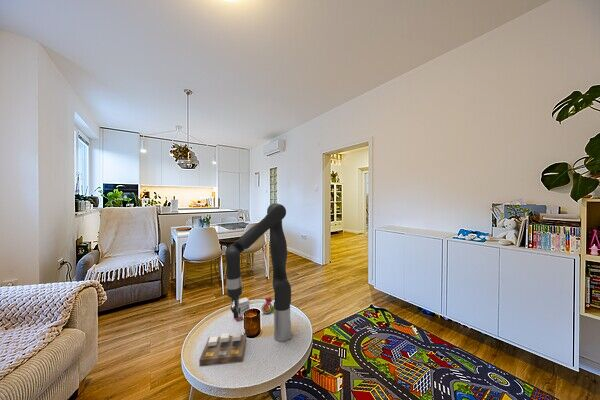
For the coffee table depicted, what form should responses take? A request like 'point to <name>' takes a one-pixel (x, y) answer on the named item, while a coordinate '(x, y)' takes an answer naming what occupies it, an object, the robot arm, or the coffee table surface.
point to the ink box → (242, 308)
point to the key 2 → (236, 336)
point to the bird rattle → (265, 306)
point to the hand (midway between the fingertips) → (236, 317)
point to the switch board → (223, 352)
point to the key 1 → (213, 341)
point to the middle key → (225, 337)
